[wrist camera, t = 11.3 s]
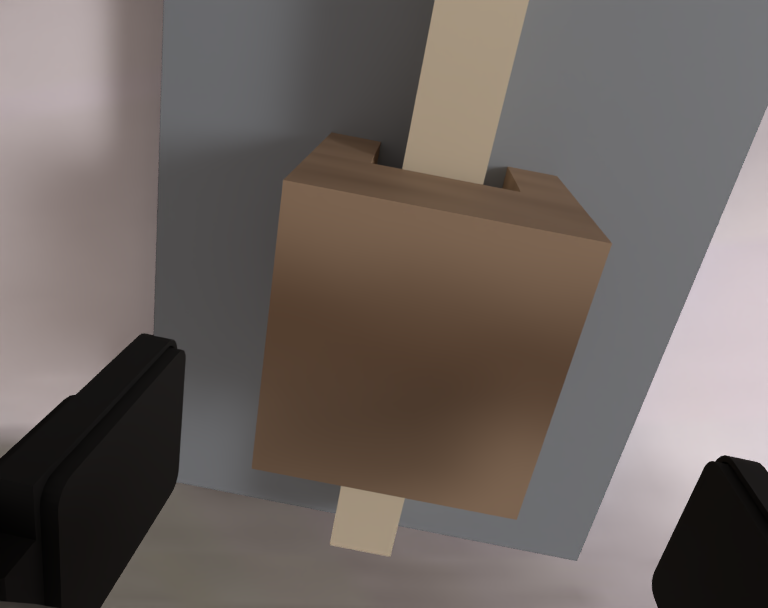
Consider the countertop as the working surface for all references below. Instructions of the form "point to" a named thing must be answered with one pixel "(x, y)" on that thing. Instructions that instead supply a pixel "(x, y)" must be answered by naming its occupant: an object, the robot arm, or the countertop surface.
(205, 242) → the cleat board
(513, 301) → the saddle block
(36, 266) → the countertop surface
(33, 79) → the countertop surface
